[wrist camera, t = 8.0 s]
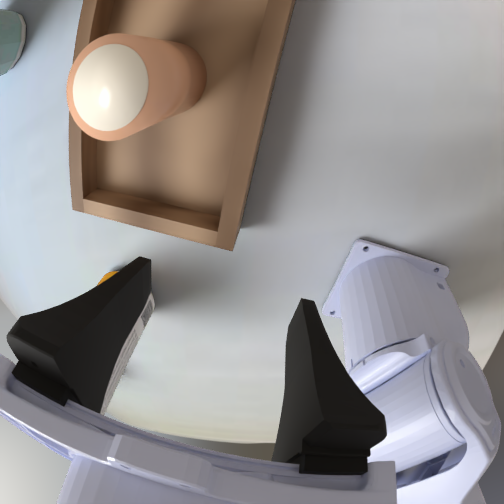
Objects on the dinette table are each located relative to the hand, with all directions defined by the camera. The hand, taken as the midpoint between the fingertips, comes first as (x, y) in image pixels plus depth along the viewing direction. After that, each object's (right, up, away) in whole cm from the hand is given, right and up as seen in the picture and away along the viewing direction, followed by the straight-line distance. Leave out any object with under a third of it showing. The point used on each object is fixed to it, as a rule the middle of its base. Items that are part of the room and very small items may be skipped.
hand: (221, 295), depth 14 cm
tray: (-4, +13, +3) cm, 14 cm away
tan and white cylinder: (-4, +13, +2) cm, 14 cm away
